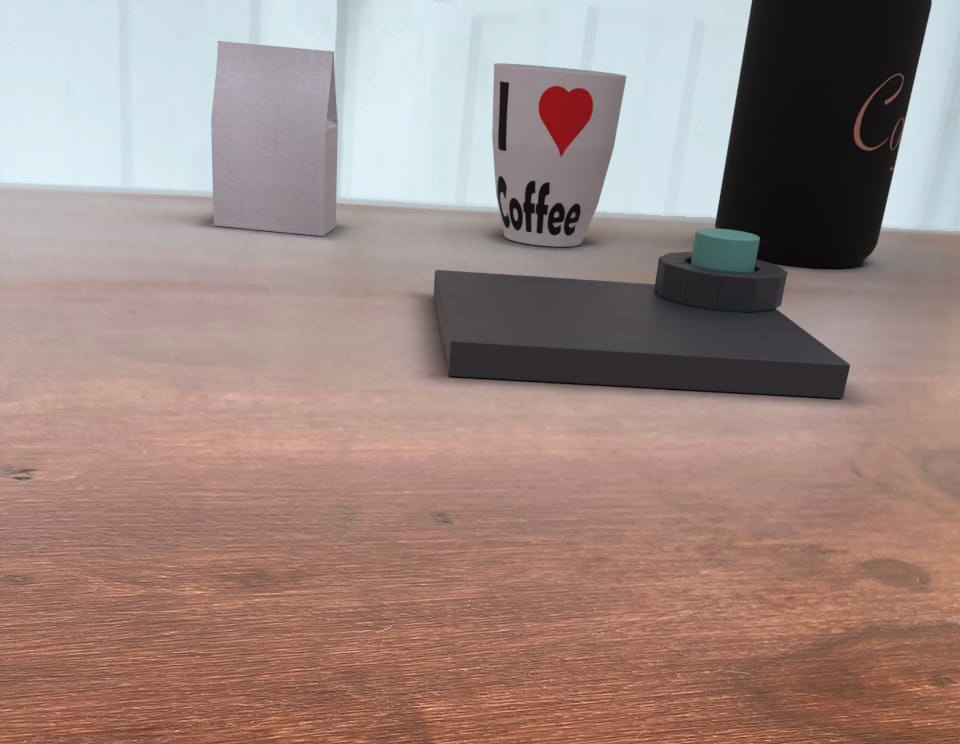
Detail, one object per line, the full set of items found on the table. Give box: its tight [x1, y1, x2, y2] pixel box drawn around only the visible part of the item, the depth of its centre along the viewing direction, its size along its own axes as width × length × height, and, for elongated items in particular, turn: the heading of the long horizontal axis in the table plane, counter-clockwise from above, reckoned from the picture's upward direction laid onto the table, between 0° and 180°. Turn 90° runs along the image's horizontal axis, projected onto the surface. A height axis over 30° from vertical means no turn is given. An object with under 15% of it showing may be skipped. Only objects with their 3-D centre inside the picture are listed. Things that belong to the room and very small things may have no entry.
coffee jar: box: [714, 0, 933, 269], centre depth 75 cm, size 11×11×18 cm
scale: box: [433, 251, 851, 399], centre depth 53 cm, size 16×14×3 cm
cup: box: [491, 62, 627, 248], centre depth 75 cm, size 8×8×10 cm
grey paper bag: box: [210, 40, 339, 237], centre depth 71 cm, size 4×7×10 cm, turn 85°
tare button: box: [691, 227, 760, 272], centre depth 56 cm, size 3×3×2 cm
